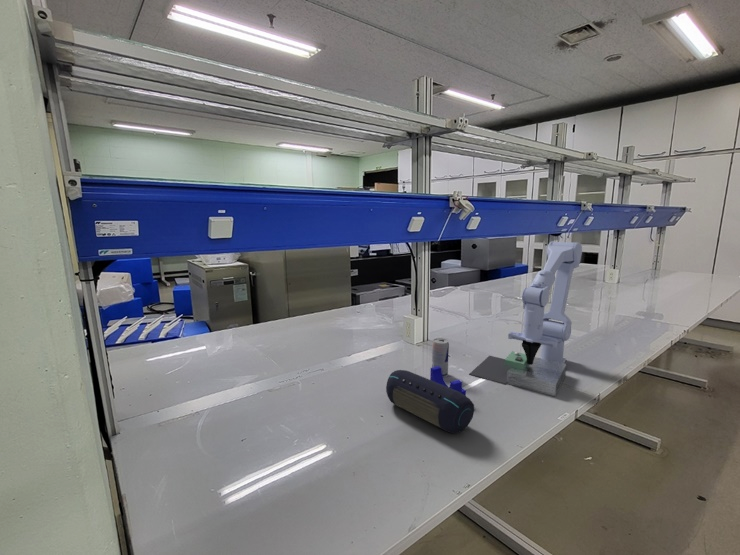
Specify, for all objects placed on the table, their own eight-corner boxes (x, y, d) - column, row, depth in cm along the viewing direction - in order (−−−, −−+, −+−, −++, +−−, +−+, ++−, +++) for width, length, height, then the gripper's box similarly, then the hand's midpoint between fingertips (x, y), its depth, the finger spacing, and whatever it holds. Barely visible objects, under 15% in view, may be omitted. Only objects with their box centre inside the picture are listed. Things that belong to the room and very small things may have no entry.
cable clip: (465, 400, 102) (466, 381, 101) (452, 403, 101) (453, 384, 100) (442, 382, 113) (442, 365, 112) (430, 385, 112) (430, 367, 111)
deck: (521, 364, 126) (522, 354, 125) (565, 375, 118) (566, 364, 117) (506, 383, 112) (507, 371, 111) (554, 396, 104) (556, 384, 103)
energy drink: (449, 373, 120) (451, 339, 118) (444, 379, 115) (445, 344, 113) (434, 370, 122) (435, 337, 120) (429, 375, 118) (430, 341, 116)
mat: (489, 356, 134) (489, 355, 134) (522, 363, 127) (522, 363, 127) (469, 374, 119) (469, 373, 118) (505, 384, 111) (505, 383, 111)
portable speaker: (379, 405, 100) (379, 372, 98) (402, 393, 106) (403, 362, 105) (455, 445, 82) (456, 406, 80) (477, 428, 88) (479, 391, 87)
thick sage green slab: (511, 356, 123) (512, 349, 123) (530, 360, 120) (530, 353, 119) (504, 365, 116) (504, 357, 116) (523, 369, 113) (523, 361, 112)
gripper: (506, 322, 114) (504, 362, 117) (555, 331, 106) (552, 373, 108) (512, 317, 120) (510, 355, 122) (560, 325, 111) (556, 365, 113)
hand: (530, 363), depth 115 cm, fingers closed
